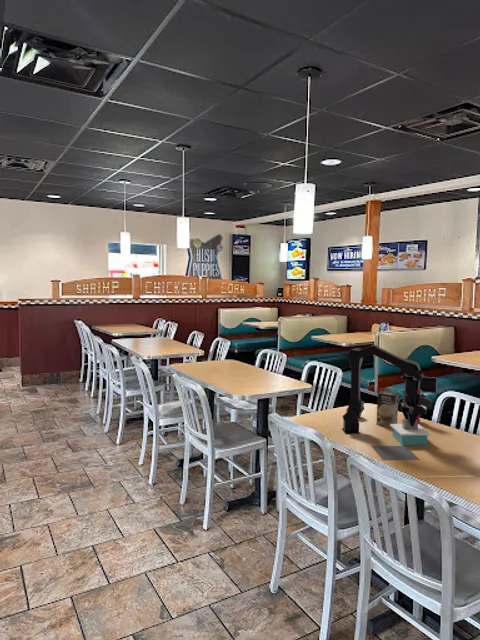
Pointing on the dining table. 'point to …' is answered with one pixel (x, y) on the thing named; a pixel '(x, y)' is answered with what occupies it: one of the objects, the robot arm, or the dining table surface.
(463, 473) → the dining table surface
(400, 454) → the mat
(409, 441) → the dish
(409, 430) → the lid
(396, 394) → the coffee box
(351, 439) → the dining table surface
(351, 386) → the robot arm
